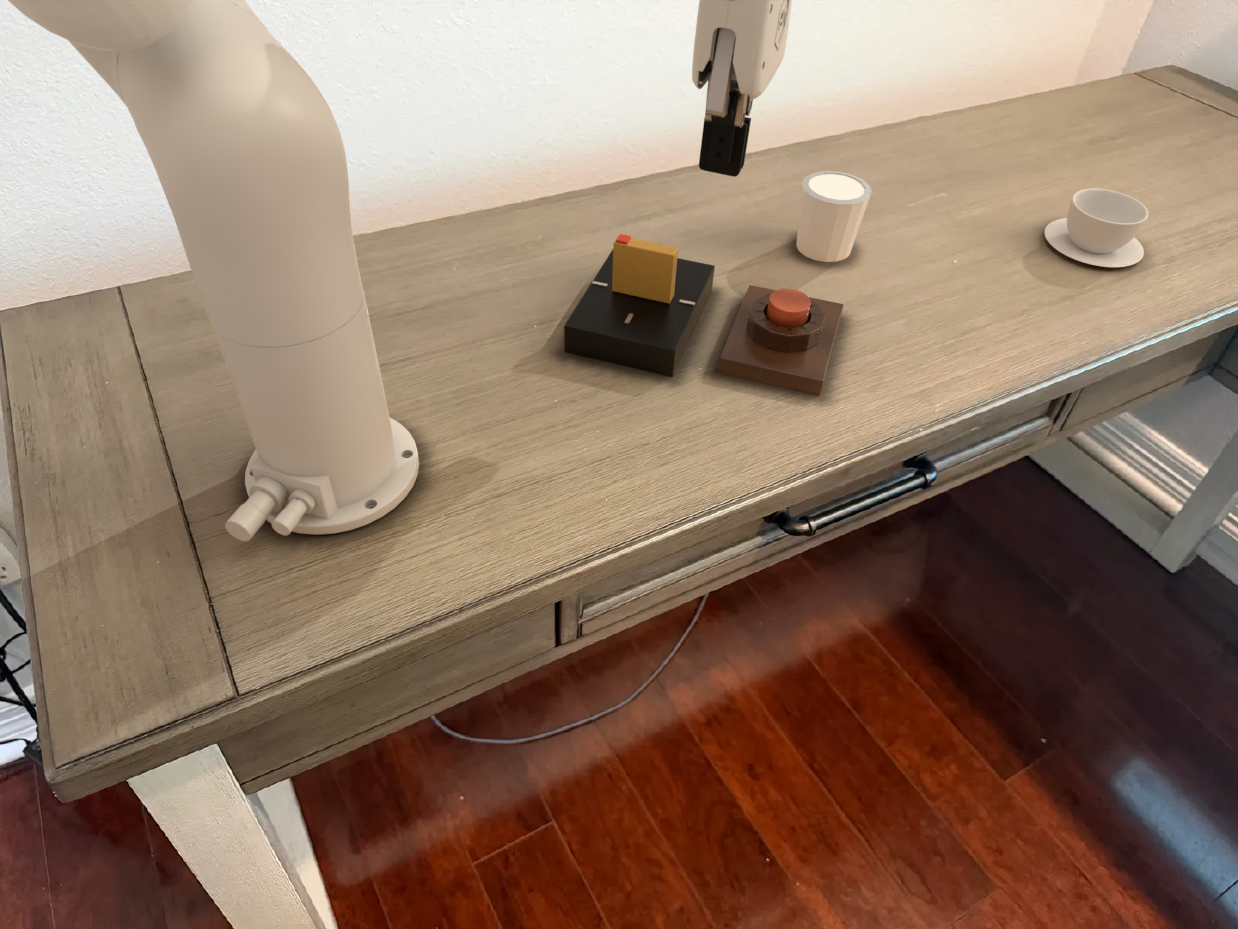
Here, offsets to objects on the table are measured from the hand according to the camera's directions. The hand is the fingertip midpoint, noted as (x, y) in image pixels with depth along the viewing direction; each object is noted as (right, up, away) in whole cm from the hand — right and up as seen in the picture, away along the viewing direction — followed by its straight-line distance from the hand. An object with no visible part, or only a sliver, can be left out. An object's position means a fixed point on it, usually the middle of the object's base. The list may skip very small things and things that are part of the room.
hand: (720, 168), depth 69 cm
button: (+7, -10, +10) cm, 16 cm away
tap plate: (-6, -10, +14) cm, 18 cm away
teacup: (+43, 0, +26) cm, 50 cm away
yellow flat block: (-6, -7, +12) cm, 15 cm away
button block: (+7, -12, +12) cm, 18 cm away
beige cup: (+13, 0, +24) cm, 28 cm away
